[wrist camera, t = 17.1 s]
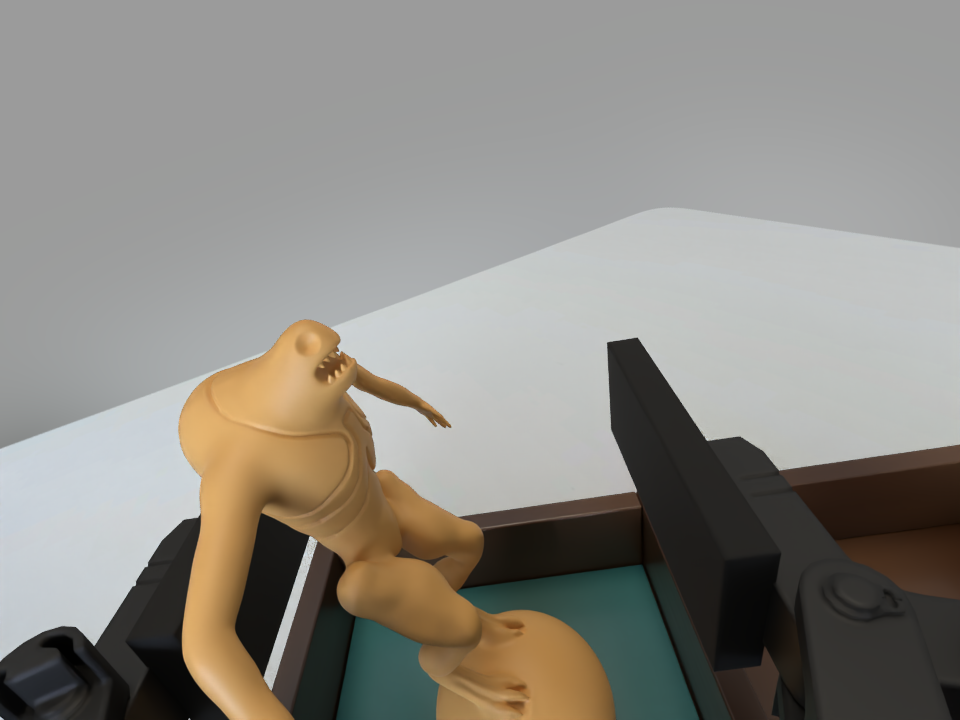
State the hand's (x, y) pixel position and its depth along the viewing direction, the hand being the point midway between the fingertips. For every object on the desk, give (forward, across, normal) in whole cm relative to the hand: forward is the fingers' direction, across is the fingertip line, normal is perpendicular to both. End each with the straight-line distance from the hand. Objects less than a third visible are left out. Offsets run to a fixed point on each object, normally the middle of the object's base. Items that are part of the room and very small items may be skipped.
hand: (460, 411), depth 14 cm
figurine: (-5, 0, -7) cm, 9 cm away
